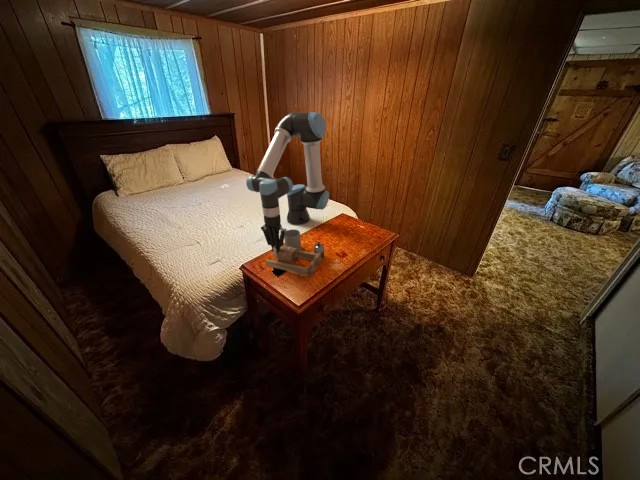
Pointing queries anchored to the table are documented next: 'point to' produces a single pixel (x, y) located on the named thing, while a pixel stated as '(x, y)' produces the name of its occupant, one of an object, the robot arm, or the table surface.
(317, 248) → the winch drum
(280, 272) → the smartphone
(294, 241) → the cup
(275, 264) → the bay
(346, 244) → the table surface
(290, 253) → the crate
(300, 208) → the robot arm
